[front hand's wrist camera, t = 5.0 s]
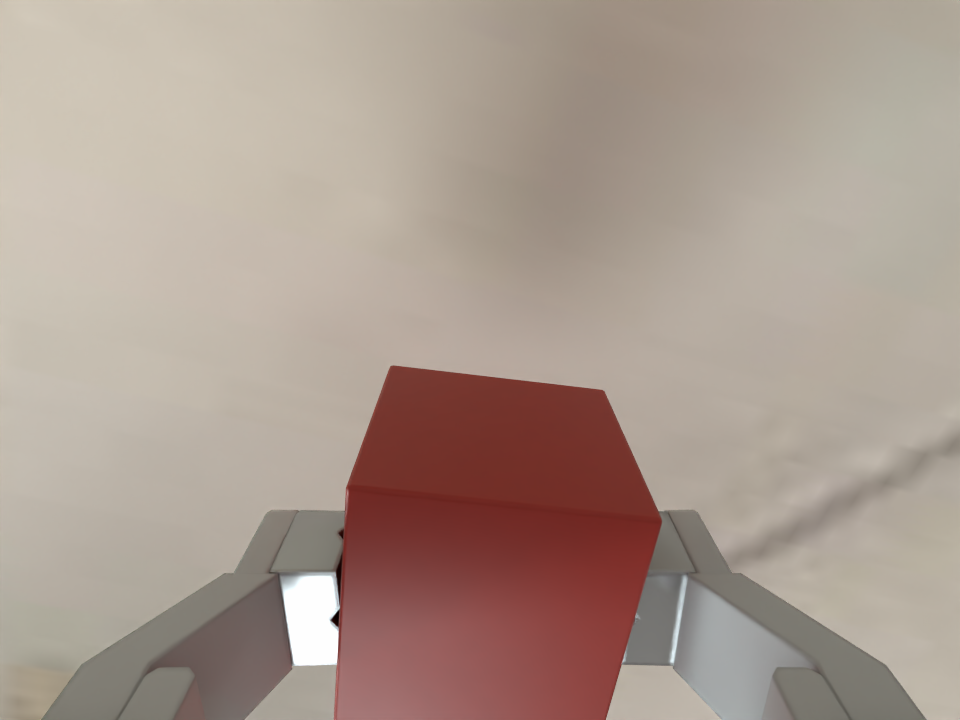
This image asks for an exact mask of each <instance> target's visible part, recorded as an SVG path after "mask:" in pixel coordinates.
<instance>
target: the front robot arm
mask: <svg viewBox="0 0 960 720" xmlns="http://www.w3.org/2000/svg"><path fill="white" fill-rule="evenodd" d="M658 512H659V514H660V516H661V518H662V525H661V528H660V532H659V535H658V539H657V542H656V546H655V549H654V553H653V556H652V560H651V563H650V567H649V570H648V574H647V577H646V581H645V584H644V588H643V591H642V595H641V598H640V602H639V605H638V609H637V612H636V616H635V619H634V623H633V626H632V630H631V633H630V637H629V640H628V644H627V647H626V651H625V654H624V658H623V661H622V664H625V665H661V666H673V669H674V670H675V671H676V672H677V673H678V674H679V675H680V676H681V677H682V678H683V679H684V680H685V681H686V683H687V684H688V685H689V686H690V687H691V688H692V689H693V690H694V691H695V692H696V693H697V694H698V695H699V696H700V697H701V698H702V699H703V700H704V701H705V702H706V703H707V705H708V706H709V707H710V708H711V709H712V710H713V711H714V712H715V713H716V714H717V715H718V716H719V717H720V718H721V719H722V720H926V718H925V717H924V716H923V714H922V713H921V712H920V710H919V709H918V708H917V706H916V705H915V703H914V702H913V701H912V699H911V698H910V697H909V695H908V694H907V693H906V691H905V690H904V689H903V687H902V686H901V685H900V683H899V682H898V680H897V679H896V678H895V676H894V675H893V674H892V672H891V671H890V670H889V668H888V667H887V666H886V665H885V664H883V663H882V662H880V661H879V660H877V659H875V658H874V657H872V656H871V655H869V654H867V653H866V652H864V651H863V650H861V649H860V648H858V647H856V646H855V645H853V644H852V643H850V642H849V641H847V640H845V639H844V638H842V637H841V636H839V635H837V634H836V633H834V632H833V631H831V630H830V629H828V628H826V627H825V626H823V625H822V624H820V623H819V622H817V621H815V620H814V619H812V618H811V617H809V616H807V615H806V614H804V613H803V612H801V611H800V610H798V609H796V608H795V607H793V606H792V605H790V604H789V603H787V602H785V601H784V600H782V599H781V598H779V597H777V596H776V595H774V594H773V593H771V592H770V591H768V590H766V589H765V588H763V587H762V586H760V585H759V584H757V583H755V582H754V581H752V580H751V579H749V578H748V577H746V576H744V575H743V574H741V573H732V572H731V570H730V569H729V567H728V565H727V563H726V562H725V560H724V558H723V556H722V554H721V553H720V551H719V549H718V547H717V546H716V544H715V542H714V540H713V539H712V537H711V535H710V533H709V531H708V530H707V528H706V526H705V524H704V523H703V521H702V519H701V517H700V515H699V514H698V512H696V511H695V510H667V511H658ZM344 517H345V511H317V510H301V511H298V510H271V511H269V512H268V513H267V514H266V515H265V516H264V518H263V520H262V522H261V524H260V526H259V527H258V529H257V531H256V533H255V535H254V537H253V538H252V540H251V542H250V544H249V546H248V548H247V549H246V551H245V553H244V555H243V557H242V559H241V560H240V562H239V564H238V566H237V568H236V570H235V571H234V573H224V574H223V575H221V576H220V577H218V578H217V579H215V580H213V581H212V582H210V583H209V584H207V585H206V586H204V587H202V588H201V589H199V590H198V591H196V592H195V593H193V594H191V595H190V596H188V597H187V598H185V599H184V600H182V601H180V602H179V603H177V604H176V605H174V606H173V607H171V608H169V609H168V610H166V611H165V612H163V613H162V614H160V615H158V616H157V617H155V618H154V619H152V620H151V621H149V622H148V623H146V624H144V625H143V626H141V627H140V628H138V629H137V630H135V631H133V632H132V633H130V634H129V635H127V636H126V637H124V638H122V639H121V640H119V641H118V642H116V643H115V644H113V645H111V646H110V647H108V648H107V649H105V650H104V651H102V652H100V653H99V654H97V655H96V656H94V657H93V658H91V659H89V660H88V661H86V662H85V663H83V664H82V665H81V666H80V667H79V669H78V670H77V671H76V673H75V674H74V676H73V677H72V678H71V680H70V681H69V682H68V684H67V685H66V686H65V688H64V689H63V691H62V692H61V693H60V695H59V696H58V697H57V699H56V700H55V701H54V703H53V704H52V706H51V707H50V708H49V710H48V711H47V712H46V714H45V715H44V716H43V718H42V719H41V720H244V719H245V718H246V717H247V716H248V715H249V714H250V713H251V712H252V711H253V710H254V709H255V708H256V706H257V705H258V704H259V703H260V702H261V701H262V700H263V699H264V698H265V697H266V696H267V695H268V694H269V693H270V692H271V691H272V690H273V689H274V687H275V686H276V685H277V684H278V683H279V682H280V681H281V680H282V679H283V678H284V677H285V676H286V675H287V674H288V673H289V672H290V671H291V670H292V666H304V665H337V650H338V631H339V612H340V593H341V574H342V555H343V536H344Z"/></svg>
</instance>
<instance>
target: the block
mask: <svg viewBox="0 0 960 720" xmlns="http://www.w3.org/2000/svg"><path fill="white" fill-rule="evenodd" d="M661 525H662V518H661V516H660V514H659V512H658V510H657V507H656V505H655V503H654V501H653V498H652V496H651V494H650V492H649V489H648V487H647V485H646V483H645V481H644V478H643V476H642V474H641V472H640V469H639V467H638V465H637V463H636V461H635V458H634V456H633V454H632V452H631V449H630V447H629V445H628V443H627V441H626V438H625V436H624V434H623V432H622V429H621V427H620V425H619V423H618V421H617V418H616V416H615V414H614V412H613V409H612V407H611V405H610V403H609V400H608V398H607V396H606V394H605V392H604V391H603V390H598V389H590V388H581V387H573V386H564V385H555V384H547V383H538V382H530V381H521V380H513V379H504V378H495V377H487V376H478V375H470V374H461V373H453V372H444V371H435V370H427V369H418V368H410V367H401V366H391V367H390V368H389V371H388V374H387V376H386V379H385V382H384V385H383V387H382V390H381V393H380V396H379V398H378V401H377V404H376V407H375V410H374V412H373V415H372V418H371V421H370V423H369V426H368V429H367V432H366V434H365V437H364V440H363V443H362V445H361V448H360V451H359V454H358V456H357V459H356V462H355V465H354V467H353V470H352V473H351V476H350V478H349V481H348V484H347V487H346V498H345V517H344V536H343V555H342V574H341V593H340V612H339V631H338V650H337V669H336V688H335V707H334V720H606V717H607V713H608V710H609V706H610V703H611V699H612V696H613V692H614V689H615V685H616V682H617V678H618V675H619V671H620V668H621V665H622V661H623V658H624V654H625V651H626V647H627V644H628V640H629V637H630V633H631V630H632V626H633V623H634V619H635V616H636V612H637V609H638V605H639V602H640V598H641V595H642V591H643V588H644V584H645V581H646V577H647V574H648V570H649V567H650V563H651V560H652V556H653V553H654V549H655V546H656V542H657V539H658V535H659V532H660V528H661Z"/></svg>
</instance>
